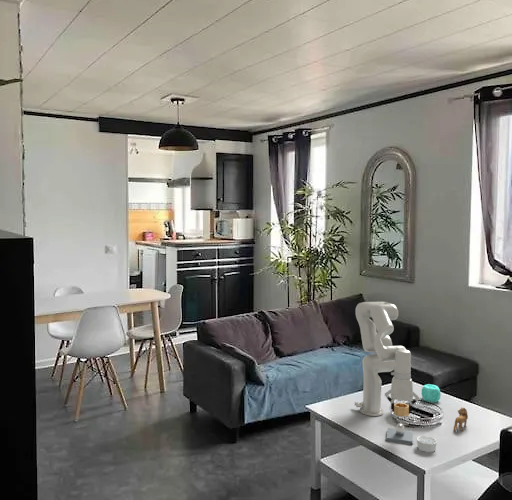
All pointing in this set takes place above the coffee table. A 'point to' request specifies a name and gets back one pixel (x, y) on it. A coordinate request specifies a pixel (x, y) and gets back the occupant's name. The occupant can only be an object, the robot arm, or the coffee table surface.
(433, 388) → the decorative dice
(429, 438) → the ramekin
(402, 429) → the steel post
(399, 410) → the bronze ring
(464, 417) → the lion figurine
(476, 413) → the coffee table surface
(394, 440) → the stand base
